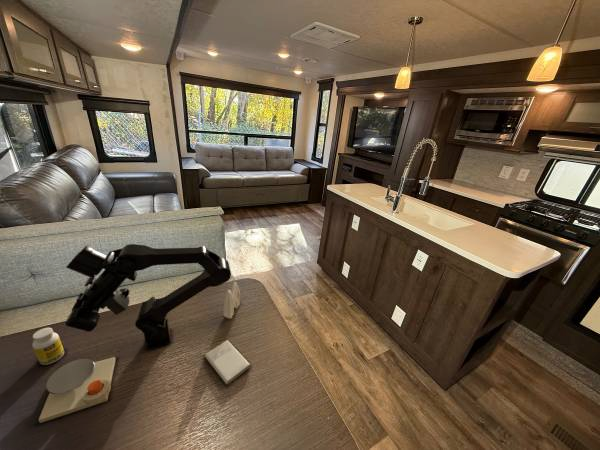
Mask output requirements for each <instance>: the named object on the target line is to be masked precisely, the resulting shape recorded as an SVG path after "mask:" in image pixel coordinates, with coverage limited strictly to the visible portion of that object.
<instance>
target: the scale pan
mask: <svg viewBox="0 0 600 450" xmlns="http://www.w3.org/2000/svg"><path fill="white" fill-rule="evenodd" d="M94 370H95V365H94V361H93V360H92V359H89V358H79V359H75V360H72V361H69V362H67V363H65V364H64V365H62V366H60V367H59V368H58V369H57V370H56V371H54V372H53V373H52V374H51V375H50V377H49V379H47V382H46V390H47V391H48V393H51V394H64V393H67V392H70V391H72V390H75V389H76V388H78V387H80V386H81V385H83V384H84V383H85V382H86V381H87V380H88V379H89V378H90V377H91V376H92V374H93V372H94Z"/></svg>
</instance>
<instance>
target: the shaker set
mask: <svg viewBox="0 0 600 450" xmlns="http://www.w3.org/2000/svg"><path fill="white" fill-rule="evenodd" d="M240 305H241V292H240V288H239V286H238V283H237V282H235V281H234V282H233V284H232V287H231V289H227V291H226V294H225V297H224V300H223V310H222V311H223V312H222V316H224V317H225V318H226V319H232V318H233V316H234V315H235V309H238V308H239V306H240Z"/></svg>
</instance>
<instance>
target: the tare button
mask: <svg viewBox="0 0 600 450" xmlns="http://www.w3.org/2000/svg"><path fill="white" fill-rule="evenodd" d="M102 388H103V385H102V383H101V381H100V380H95V381H93V382H92V383H90V384H89V386H88V388H87V389H88V392H89V394H90V395H95V394H97V393H99V392H100V391H101V390H102Z"/></svg>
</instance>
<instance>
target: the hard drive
mask: <svg viewBox="0 0 600 450" xmlns="http://www.w3.org/2000/svg"><path fill="white" fill-rule="evenodd" d="M204 357H205V359H206V361H208V363H209V364H210V365H211V366H212V368H213V369H214V370H215V372H216V373H217V374H218V375H219V377H220V378H221V379H222V381H223V382H224V383H225V385H230V384H231V383H232V382H233V381H235V380H236V379H237V378H238V377H240V376H241V375H242V374H244V373H245V372H246V371H247V370H249V369H250V368H251V364H250V362H249V361H248V360H247V359H246V358H245V357H244V356H243V355H242V353H240V352H239V351H238V349H236V348H235V346H234V345H233V344H232V343H231V342H230V341H229V340H228V339H226V340H225V341H223V342H222V343H220V344H219V345H217V346H215V347H214V348H212V349H211V350H209V351H207V352H206V353H205V355H204Z"/></svg>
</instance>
